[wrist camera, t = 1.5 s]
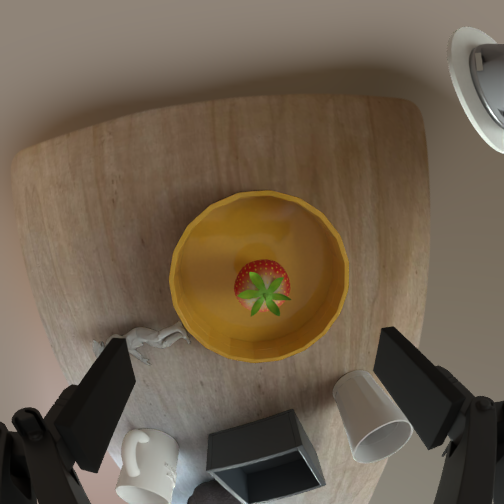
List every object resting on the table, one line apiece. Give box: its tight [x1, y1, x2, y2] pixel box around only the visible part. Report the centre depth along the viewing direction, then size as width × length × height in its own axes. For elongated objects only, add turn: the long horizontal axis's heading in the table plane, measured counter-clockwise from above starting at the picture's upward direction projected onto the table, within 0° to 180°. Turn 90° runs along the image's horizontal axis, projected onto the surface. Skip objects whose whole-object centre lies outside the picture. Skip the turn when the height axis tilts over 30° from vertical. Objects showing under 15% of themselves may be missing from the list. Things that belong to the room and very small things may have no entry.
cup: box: [333, 370, 414, 463], centre depth 32 cm, size 8×8×12 cm
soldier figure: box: [93, 321, 191, 365], centre depth 32 cm, size 8×5×12 cm
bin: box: [206, 409, 326, 504], centre depth 36 cm, size 14×14×8 cm
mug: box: [115, 429, 179, 504], centre depth 32 cm, size 8×12×12 cm
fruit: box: [234, 259, 291, 316], centre depth 29 cm, size 5×5×8 cm
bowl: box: [169, 190, 349, 363], centre depth 31 cm, size 18×18×4 cm
